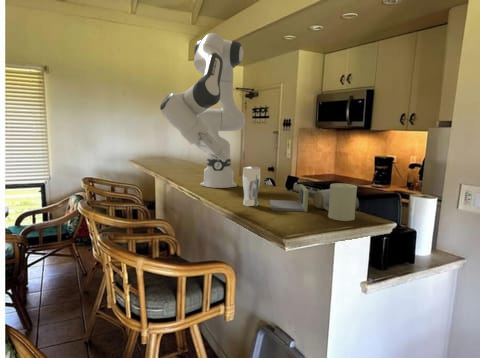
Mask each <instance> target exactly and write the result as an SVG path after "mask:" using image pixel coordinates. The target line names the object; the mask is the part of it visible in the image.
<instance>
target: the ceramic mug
mask: <svg viewBox="0 0 480 358" xmlns="http://www.w3.org/2000/svg"><path fill="white" fill-rule="evenodd" d="M312 198H313V204H314V206H315V207H316V209H319V210H326V211H327V212H329V200H330V188H328V189H322V190H317V191H315V192H314V194H313V197H312Z"/></svg>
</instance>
